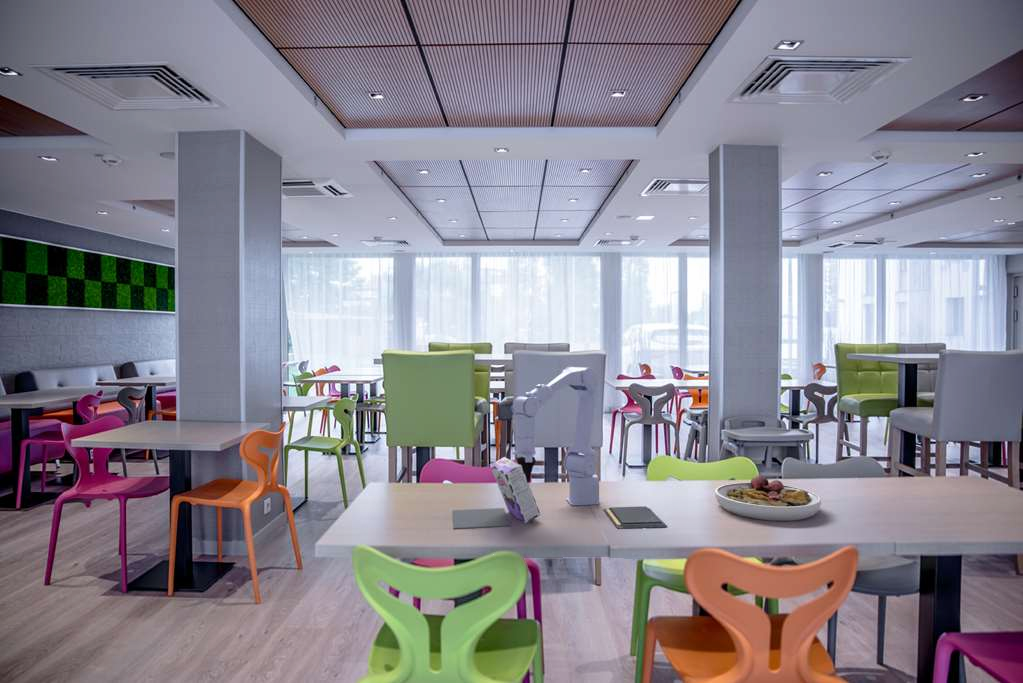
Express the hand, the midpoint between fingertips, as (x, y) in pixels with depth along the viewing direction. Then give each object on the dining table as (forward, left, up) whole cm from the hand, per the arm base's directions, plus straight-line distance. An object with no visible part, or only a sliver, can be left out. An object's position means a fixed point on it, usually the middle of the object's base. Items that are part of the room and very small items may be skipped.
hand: (525, 481), depth 181 cm
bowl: (-75, +3, -11) cm, 76 cm away
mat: (+14, 0, -10) cm, 17 cm away
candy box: (0, 0, -10) cm, 10 cm away
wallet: (-31, +6, -11) cm, 34 cm away
